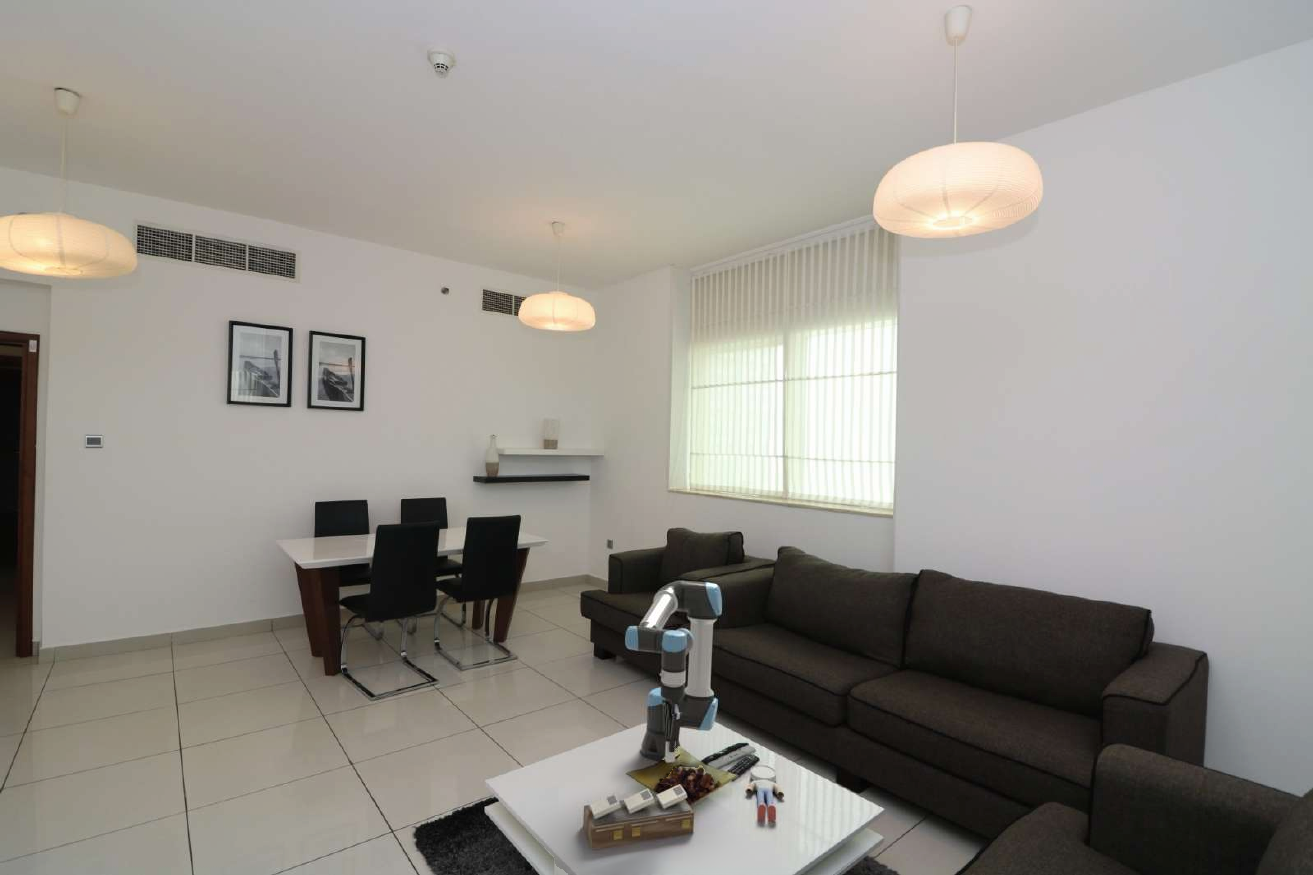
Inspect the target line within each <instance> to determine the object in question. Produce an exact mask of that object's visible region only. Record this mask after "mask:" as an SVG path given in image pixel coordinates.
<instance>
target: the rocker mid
mask: <svg viewBox="0 0 1313 875" xmlns="http://www.w3.org/2000/svg"><path fill="white" fill-rule="evenodd" d="M653 796H654V795H653V794H652V793H651V791H650V789H649V788H646V789H644V790H641V791H638V792H637V793H635V794H633V795H630V796H628V797H627V798H624V799H623V800H624V803H625V805H626V807H627V809H628V811H629V813H630V814H631V813H633V812H635V811H637V810H640V809H642V808H644V807H646V806H648V805H650V804H652V803H654V802H655V801H654V798H653Z"/></svg>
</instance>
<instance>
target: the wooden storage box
mask: <svg viewBox="0 0 1313 875" xmlns="http://www.w3.org/2000/svg"><path fill="white" fill-rule="evenodd" d="M652 796H653V798H654V801H655V802H654V803H652V804H650V805H648V806H646V807H644V808H642V809H640V810H637V811H635V812H633V813H631V814H630V813H629V811H628V809H627V807H626V805H625V803H624V799H619V800H618V801H619V803H620V806H621V807H620V808H618V809H616V810H614V811H612V812H610V813H608V814H605V815H603V816H601V817H599V818H597V819H595V818H594V816H593V813H592V811H591V808H590V804H586V805H584V806H583V817H582V818H583V819H582V820H583V821H582V822H583V823H582V824H583V825H582V826H583V830H584V832H585V835H586V837H587V838H586V839H587V842H588V844H589V846H590V848H591V851H593V850H594V851H595V850H600V849H606V848H612V847H618V846H624V845H631V844H635V843H637V844H638V843H642V842H648V841H655V840H661V839H667V838H672V837H678V836H685V835H690V833H691V834H694V827H695V825H694V824H695V812H694V811H693V809H692V808H691V806H690V804H689V802H687V800H686V798H685V799H683V800H681V801H679V802H677V803H675V804H673V805H671V806H669V807H667V808H665V809H663V807H662V806H661V804H660V802H659V801H658V799H657V794H656V795H652Z"/></svg>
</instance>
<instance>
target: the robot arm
mask: <svg viewBox="0 0 1313 875" xmlns="http://www.w3.org/2000/svg"><path fill="white" fill-rule="evenodd" d="M721 591H722V590H721V588H720V586H719V585H718V584H716V583H712V582H706V581H704V582H703V581H688V580H675V581H673V582H669V583H668V584H666V585H664V586H663V587H661V588H660V589H659V590H658V591H657V592H656V593H655V595H654V596H653V601H652V604H651V605H650V608H649V609H648V611H647V612H646V614H645V615H644V616H643V618H642V620H641V621H640V623H639V625H631V626H628V628H627V629H626V631H625V637H624V638H625V639H624V641H625V642H624V644H625V647H626V648H627V649H628V650H631V651H636V652H638V651H639V652H650V653H656V654H661V672H660V673H659V676H660V677H661V678H660V682H661V683H660V686H659V687H656V688H653V689H651V691H650V692H649V693H648V694H647V702H646V730H645V733H644V736H643V737H642V738H643V739H642V742H641V744H640V746H641V747H640V752H641V754H642V755H643V756H644V755H645V756H644V757H645V758H647V757H648V759H650V760H653V761H661V760H662V759H663V758H664V757H665V760H664V762H665V763H675V762H676V758H675V749H676V748H677V747H678V746H681V742H680V731H681V728H683V729H690V730H695V731H699V732H700V731H703V732H705V731H706V732H709V731H711V730H712V729H713V727H714V724H715V720H716V717H717V711H718V705H719V704H718V702H719V700H718V698H716V697H715V693H714V690H712V688H711V676H712V658H713V656H712V654H713V634H714V631H713V630H714V623H715V622H716V621H718V616H721V615H722V612H723V610H722V609H723V598H722V592H721ZM675 612H683V613H686V614H687V616H686V617H687V619H688V620H689V621H690V630H689V629H687V628H683V627H681V628H678V629H676V630H674V629H671V630H670V629H663V628H664V627H665V625H666V623H667V621H668V620H669V618H670V616H671V615H672V614H673V613H675ZM687 655H688V670H687V671H688V672H687V673H688V674H687V673H686V664H687V662H686V661H687V660H686V659H687ZM686 674H687V686H686V684H685V683H686Z"/></svg>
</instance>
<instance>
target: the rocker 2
mask: <svg viewBox="0 0 1313 875" xmlns="http://www.w3.org/2000/svg"><path fill="white" fill-rule="evenodd" d="M656 795H657V799H658V801H659V802H660V804H661V806H662V807H663V809H665V808H667V807H669V806H671V805H673V804H675V803H677V802H679V801H681V800H683V799H685V800H686V799H687V798H688V794H687V792H686V791H685V789H684V788H683V786H682V785H681V784H679V783H678V784H677V785H674V786H673V787H670V788H669V789H666V790H664V791H662V792H660V793H657V794H656Z"/></svg>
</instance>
